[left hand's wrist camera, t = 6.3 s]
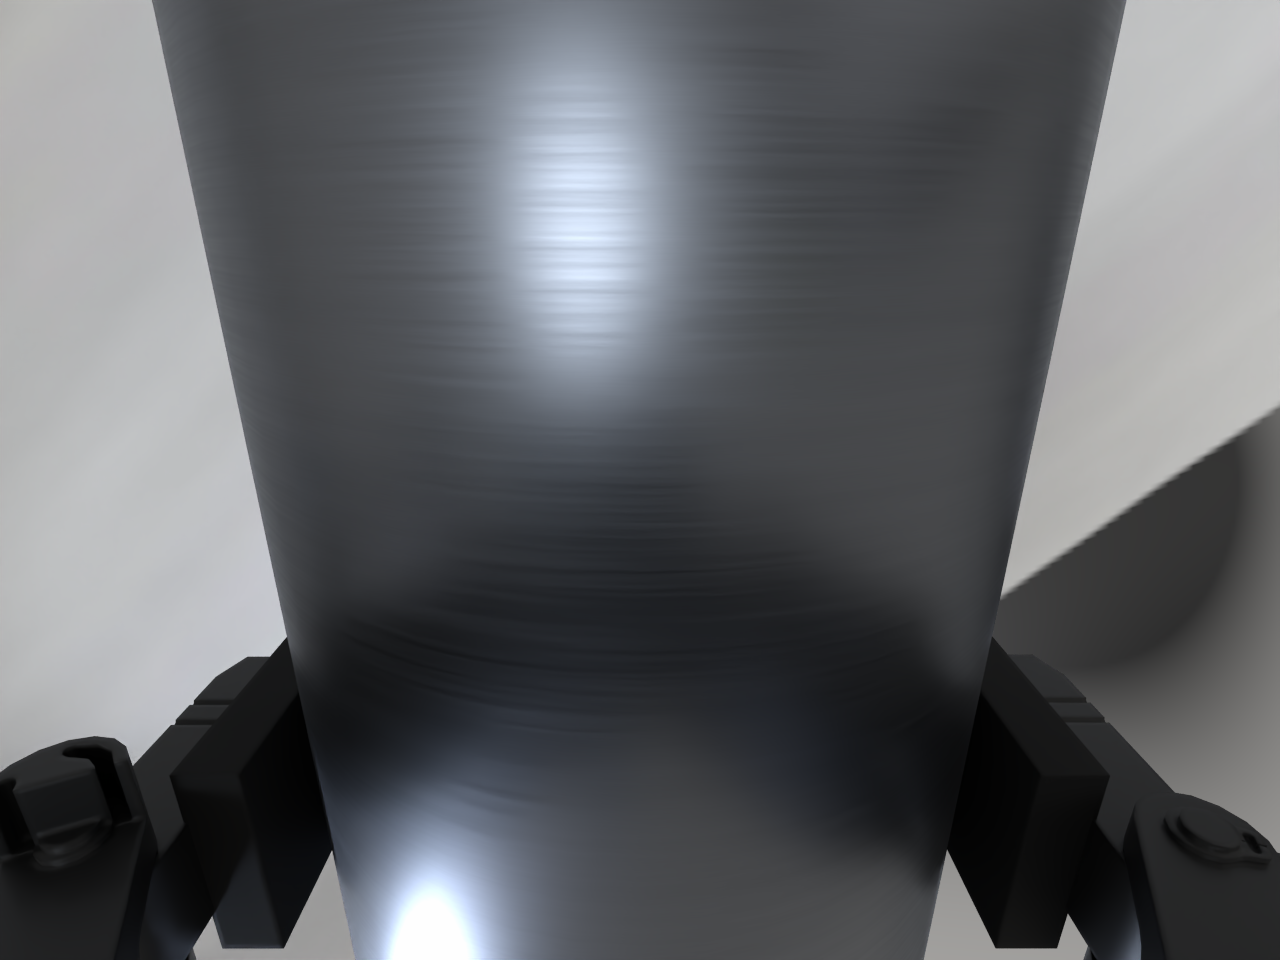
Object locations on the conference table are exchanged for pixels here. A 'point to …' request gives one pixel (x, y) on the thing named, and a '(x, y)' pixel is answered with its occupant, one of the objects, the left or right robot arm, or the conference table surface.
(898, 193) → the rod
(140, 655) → the conference table surface
